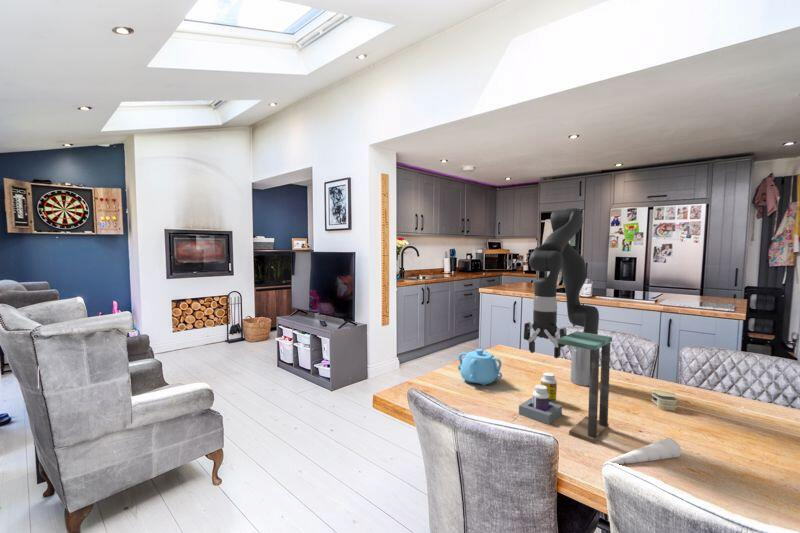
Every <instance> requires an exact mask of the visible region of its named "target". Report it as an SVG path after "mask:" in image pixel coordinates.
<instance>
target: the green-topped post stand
mask: <svg viewBox="0 0 800 533" xmlns="http://www.w3.org/2000/svg"><path fill="white" fill-rule="evenodd" d="M612 342H613V337H612V336H608V335H601V334H598V335H597V334H591V333H585V332H583V331H577V330H576V331H574V332H571V333H569V334H567V335H566V336H564V337H561V338H560V337H558V344H564V345H566V346H570V347H572V346H574V347H579V348H585V349H590V378H589V386H588V409H587V410H588V414H587V415H588V416H585V417H583V418H582V419H581V420H579V422H578V423H576V424H575V425H574V426H573V427H571V429H569V431H568V435H569V436H572V437H575V438H578V439H581V440H583V441H586V442H589V443H592V444H594V443H595V442H596V441H598V439H599V438H600V437H601V436H602V435H603V434H604V433H605V431H606V430H607V429H608V428H609V426H610V424H609V422H608V421H609V397H610V396H609V393H610V391H609V390H610V368H611V367H610V364H611V343H612ZM600 349H601V353H600ZM600 354H601V358H600ZM599 374H600V375H599ZM599 376H600V377H599ZM599 378H600V383H599ZM599 387H600V388H599ZM598 401H599V402H598ZM598 404H599V405H598ZM598 408H599V410H598ZM598 412H599V414H598ZM598 415H599V418H598Z"/></svg>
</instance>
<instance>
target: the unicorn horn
mask: <svg viewBox="0 0 800 533" xmlns="http://www.w3.org/2000/svg"><path fill="white" fill-rule="evenodd" d="M681 455H682V449H681V446H680V444H679V442H677V441H676V440H674V439H673V438H670V437H667V438H664V439H662V440H658V441H655V442H654V443H653V442H652V443H650V444H648V445H644V446H642V447H639V448H636V449H633V450H631V451H628V452H625V453H622V454H621V455H619V456H615V457H614V458H611V459H609V460H608V461H610V462H612V463H617V464H620V465H625V464H626V465H627V464H635V463H644V462H645V463H646V462H652V461H659V460H666V459H675V458H678V457H680V456H681ZM601 466H604V465H603V463H602V464H601Z"/></svg>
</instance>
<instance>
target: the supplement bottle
mask: <svg viewBox="0 0 800 533" xmlns="http://www.w3.org/2000/svg"><path fill="white" fill-rule="evenodd" d="M542 376H543V377H541V378H540V385H544V386H546V387H547V393H548V394H549V402H551V403H554V404H555V403H556V402H557V388H558V387H557V386H558V383H557V382H558V381H557V379H555V378H556V376H555V373H552V372H544V373H543V375H542Z"/></svg>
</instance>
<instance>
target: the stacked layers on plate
mask: <svg viewBox="0 0 800 533" xmlns="http://www.w3.org/2000/svg"><path fill="white" fill-rule="evenodd" d="M651 391H652V392H653V393H651V396H652V398H651V401H652V402H653V403H655V404H656V408H657V409H658V410H662V411H673V412H676V409H677V408H678V405H677V402H678V399H677V398H678V395H676V393H675V392H670V391H665V390H660V389H652V390H651Z"/></svg>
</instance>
